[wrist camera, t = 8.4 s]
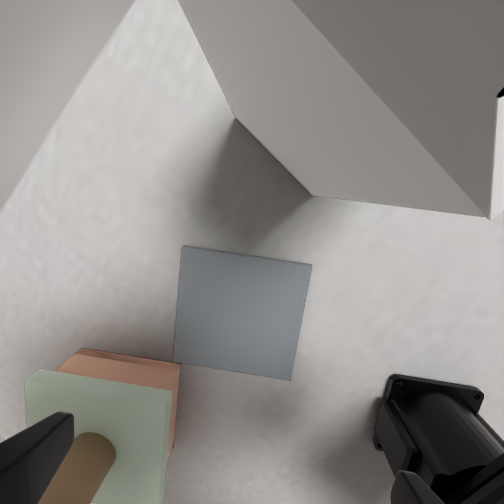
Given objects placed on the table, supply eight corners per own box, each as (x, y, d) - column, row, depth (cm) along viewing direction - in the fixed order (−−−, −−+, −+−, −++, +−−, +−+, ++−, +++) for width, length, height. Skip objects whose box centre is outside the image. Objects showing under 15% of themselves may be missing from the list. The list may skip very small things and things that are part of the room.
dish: (180, 364, 21) (163, 397, 18) (173, 446, 23) (156, 490, 20) (81, 348, 22) (46, 377, 18) (82, 430, 24) (50, 471, 20)
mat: (311, 264, 19) (312, 266, 18) (289, 376, 21) (290, 380, 21) (183, 245, 19) (181, 246, 19) (174, 357, 21) (172, 361, 21)
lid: (172, 390, 18) (122, 493, 12) (163, 496, 20) (117, 629, 14) (39, 368, 18) (-76, 457, 12) (44, 474, 20) (-52, 595, 14)
